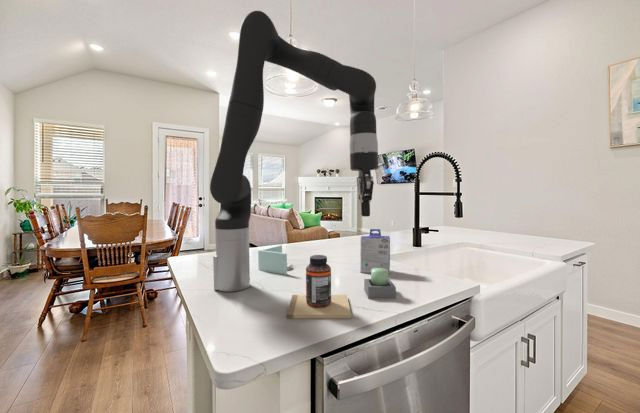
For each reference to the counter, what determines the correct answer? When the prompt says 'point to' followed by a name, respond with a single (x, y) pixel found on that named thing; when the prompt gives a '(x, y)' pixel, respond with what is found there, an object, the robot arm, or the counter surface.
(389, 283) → the button housing
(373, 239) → the ink cartridge box
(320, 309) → the sketchbook
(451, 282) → the counter surface
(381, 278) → the button
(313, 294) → the supplement bottle
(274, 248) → the l-shaped corner panel
